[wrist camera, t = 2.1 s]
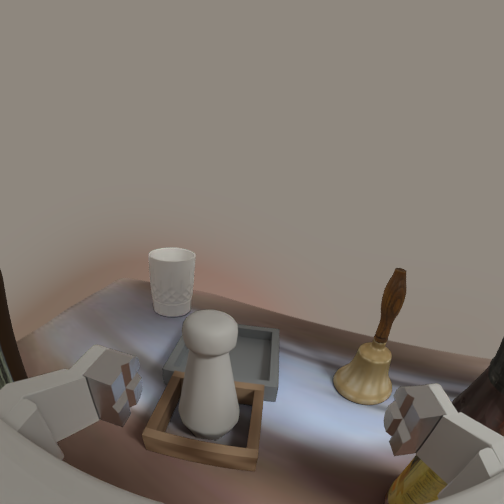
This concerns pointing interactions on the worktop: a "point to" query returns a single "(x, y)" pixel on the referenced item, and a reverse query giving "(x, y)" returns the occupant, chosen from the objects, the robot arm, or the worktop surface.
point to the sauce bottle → (474, 406)
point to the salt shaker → (209, 375)
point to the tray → (242, 359)
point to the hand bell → (374, 353)
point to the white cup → (171, 280)
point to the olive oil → (8, 345)
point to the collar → (202, 450)
